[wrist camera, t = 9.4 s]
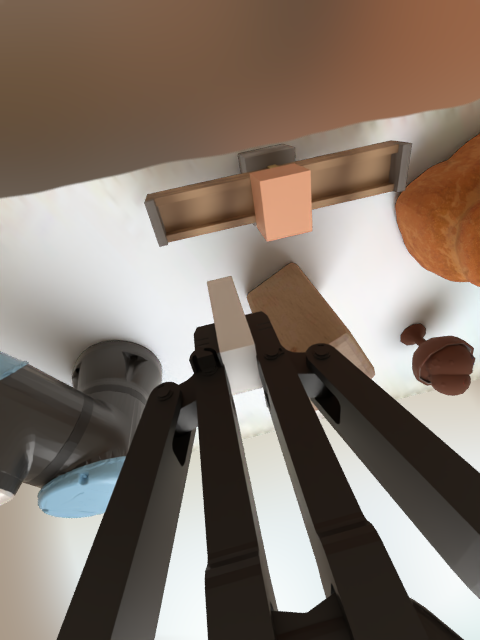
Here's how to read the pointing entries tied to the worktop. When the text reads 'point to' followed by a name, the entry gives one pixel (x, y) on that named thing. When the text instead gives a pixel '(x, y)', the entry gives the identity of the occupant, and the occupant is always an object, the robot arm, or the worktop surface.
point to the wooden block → (304, 316)
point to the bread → (445, 216)
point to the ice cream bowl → (440, 360)
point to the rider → (282, 201)
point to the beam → (235, 191)
